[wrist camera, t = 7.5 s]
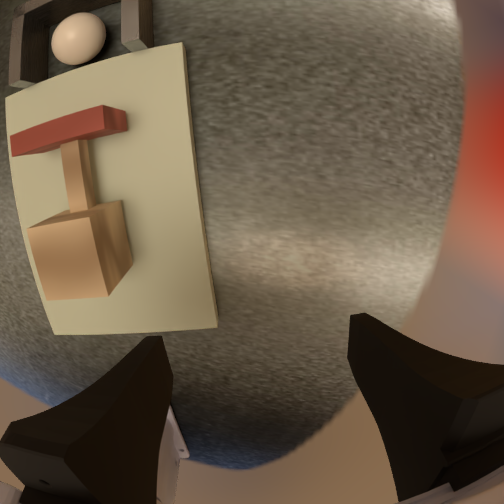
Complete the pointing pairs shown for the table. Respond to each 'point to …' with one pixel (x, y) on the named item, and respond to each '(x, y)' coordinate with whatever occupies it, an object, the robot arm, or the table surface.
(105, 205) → the t-shaped pusher
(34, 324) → the table surface
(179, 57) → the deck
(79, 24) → the ball
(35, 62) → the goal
